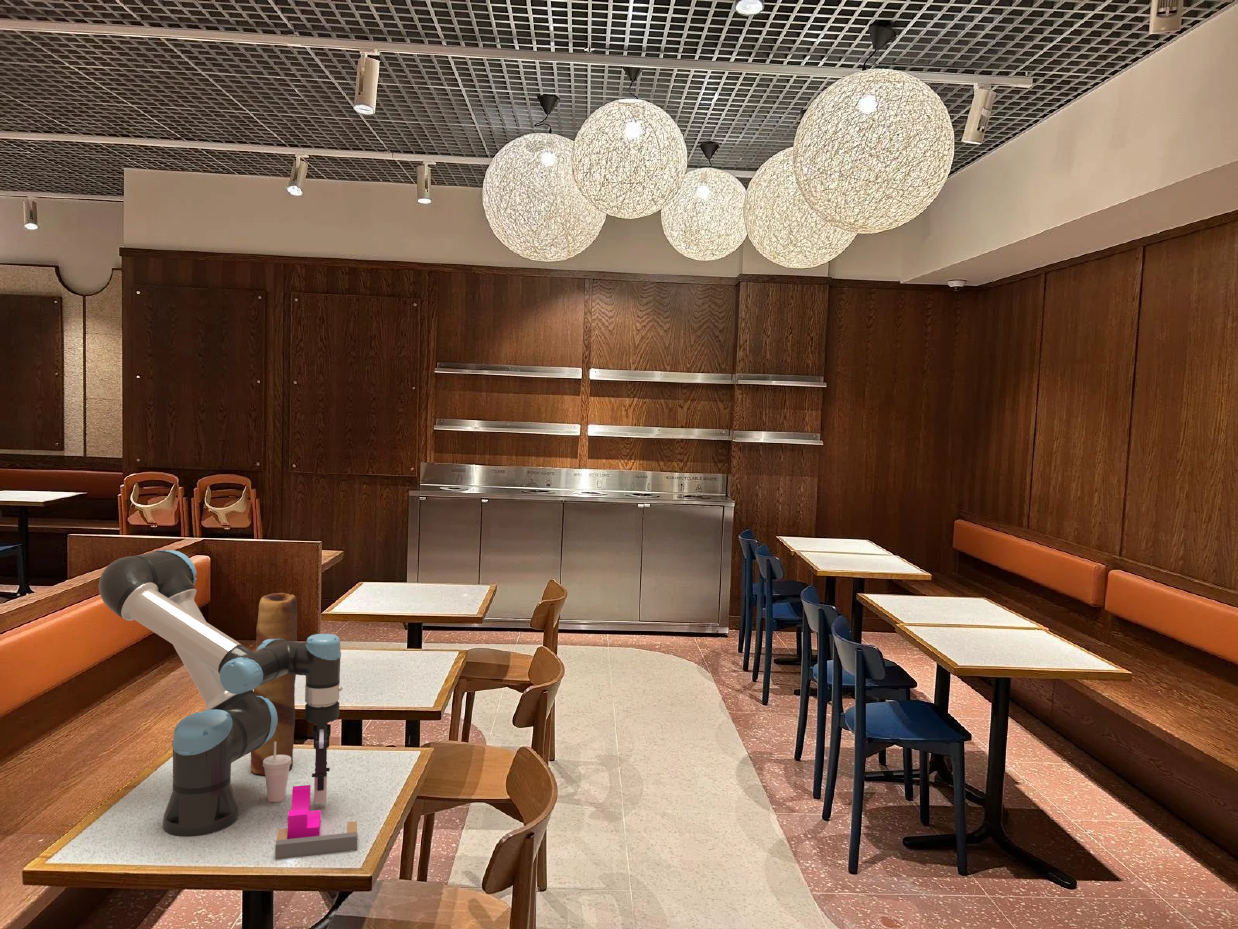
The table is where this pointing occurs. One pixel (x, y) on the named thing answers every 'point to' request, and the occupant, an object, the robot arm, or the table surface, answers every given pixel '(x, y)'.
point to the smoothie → (276, 775)
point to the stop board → (315, 843)
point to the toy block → (302, 815)
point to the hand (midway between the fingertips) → (320, 801)
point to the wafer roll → (278, 624)
